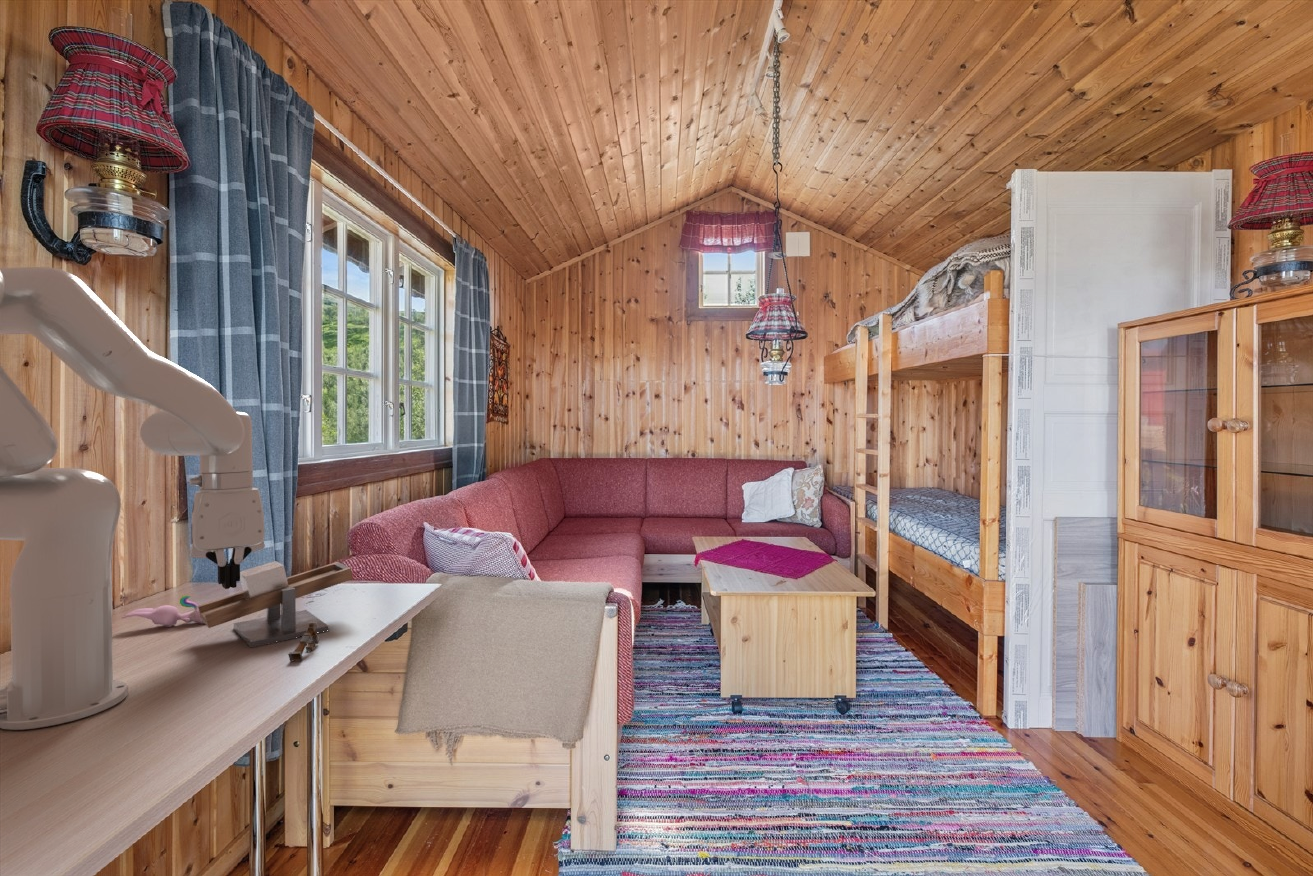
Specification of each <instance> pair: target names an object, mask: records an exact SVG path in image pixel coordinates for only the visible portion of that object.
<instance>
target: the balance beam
mask: <svg viewBox="0 0 1313 876" xmlns="http://www.w3.org/2000/svg"><path fill="white" fill-rule="evenodd" d="M286 577H287V581H288V586H289V587H287V588H293V587H294V588H295V600H297V599H300V598H301V597H305V596H308V595H311V594H314V593H316V592H320V591H322V590H326V589H327V588H331V587H334V586H337V585H339V584H342V583H347V582H349V581H352V580H354V574H353V571H352V567H350V566H347V565H345V564H343V563H341V562H339V561H335V562H332V563H329V564H326V565H323V566H320V567H316V568H313V569H310V570H307V571H304V572H301V573H300V572H299V573H298V574H294V575H291V576H286ZM287 588H284V589H287ZM278 604H280V605H281V590H278V591H275V592H272V593H269V594H266V595H263V596H260V597H257V598H254V599H250V600H246V599H245V598H244V594H243V591H241V592H238V593H234V594H232V595H228V596H225V597H222V598H221V597H220V598H218V599H215V600H211V601H209V602H206V603H202V604H199V605H198V609H199V613H200V617H201V619H202V620H203V621H204V623H205V624H204V625H206V627H207V628H208V629H211V628H213V627H216V626H219V625H222V624H225V623H228V622H232V621H234V620H237V619H240V618H243V617H247V616H249V615H251V614H252V615H253V614H255V613H257V612H260V611H263V610H267V608H270V607H273V606H276V605H278Z"/></svg>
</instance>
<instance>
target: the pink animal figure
mask: <svg viewBox="0 0 1313 876" xmlns="http://www.w3.org/2000/svg"><path fill="white" fill-rule="evenodd" d="M191 597H192V596H191V595H189V594H187V595H183V596H182V597H180V600H179V604H180V605H181V606H182V607H184V608H194V610H192V611H188V612H185V613H180V612H179V610H178V608H177V607H176V606H173V605H169V604H168V605H167V604H164V605H161V606H157V607H156V608H151V607H148V608H147V607H145V608H143V607H142V608H137V609H134V610H132V611H129V612H128V613H125V614H124V616H121V619H126V618H131V617H141V618H144V619H148V620H151V621H152V623H153V624H154V625H157V626H158V625H163V626H164V627H167V628H171V627H172V626H173V625H176V624H177V622H178V620H179V621H180V620H181V621H183V622H185V623H197V624H202V625H206V624H205V623H204V621H203V620H202V619H201V617H200V613H199V609H198V606H199V605H198V604H197V603H196V602H194V601H190V600H188V599H189V598H191Z"/></svg>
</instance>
